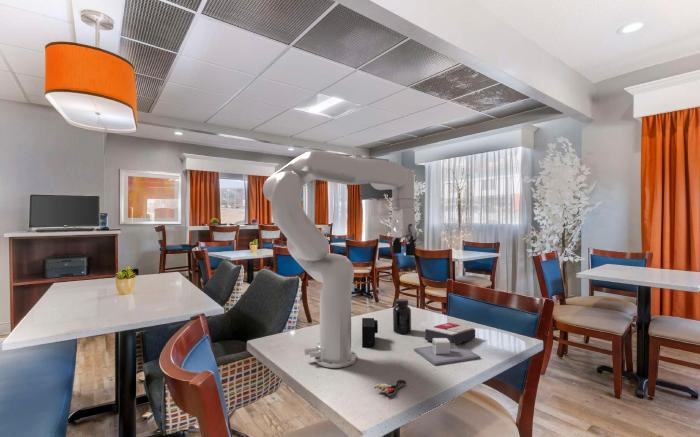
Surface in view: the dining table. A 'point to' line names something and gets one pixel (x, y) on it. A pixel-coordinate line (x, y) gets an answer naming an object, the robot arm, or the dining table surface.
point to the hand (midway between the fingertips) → (403, 254)
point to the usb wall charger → (442, 346)
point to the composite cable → (390, 388)
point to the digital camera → (369, 332)
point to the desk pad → (446, 355)
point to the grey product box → (450, 333)
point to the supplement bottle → (402, 317)
